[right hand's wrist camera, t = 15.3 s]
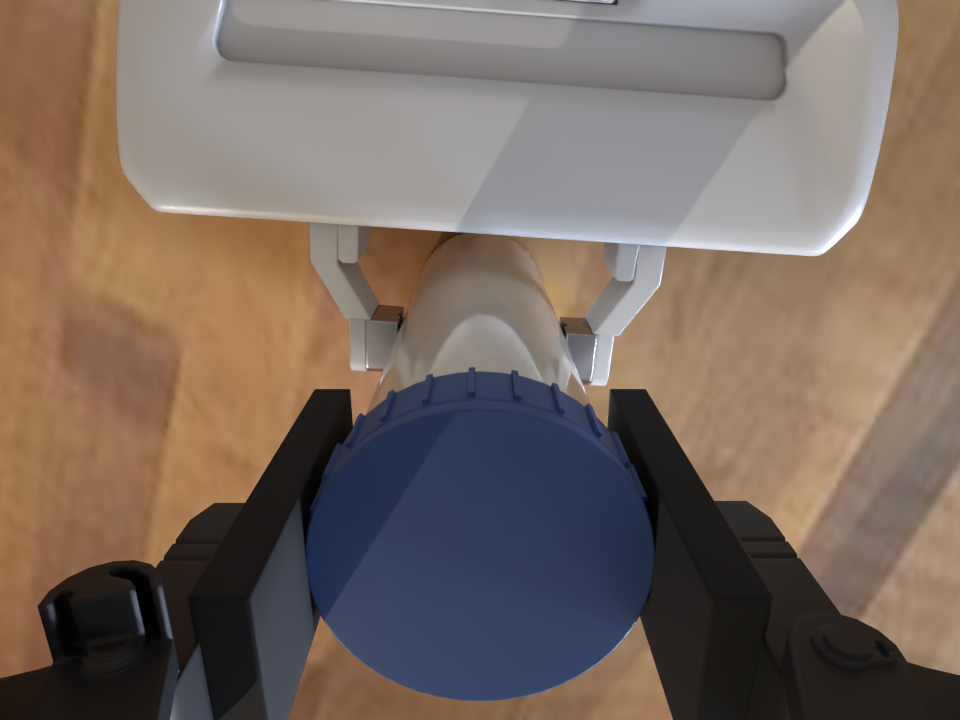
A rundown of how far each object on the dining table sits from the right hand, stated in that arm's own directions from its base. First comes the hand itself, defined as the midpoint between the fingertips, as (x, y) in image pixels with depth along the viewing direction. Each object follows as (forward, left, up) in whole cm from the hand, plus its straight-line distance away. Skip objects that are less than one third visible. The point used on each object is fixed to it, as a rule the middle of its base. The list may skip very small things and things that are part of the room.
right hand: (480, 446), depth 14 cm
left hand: (-1, +1, -7) cm, 7 cm away
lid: (0, 0, +4) cm, 4 cm away
